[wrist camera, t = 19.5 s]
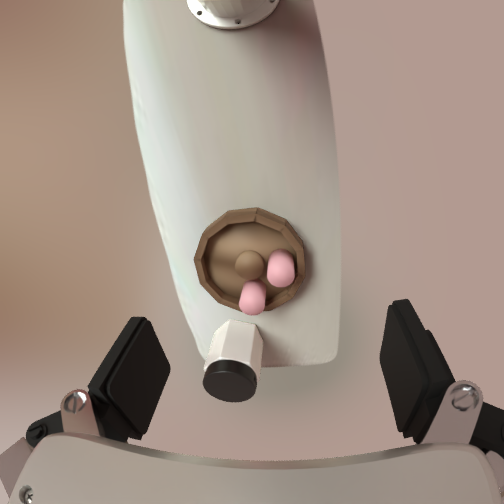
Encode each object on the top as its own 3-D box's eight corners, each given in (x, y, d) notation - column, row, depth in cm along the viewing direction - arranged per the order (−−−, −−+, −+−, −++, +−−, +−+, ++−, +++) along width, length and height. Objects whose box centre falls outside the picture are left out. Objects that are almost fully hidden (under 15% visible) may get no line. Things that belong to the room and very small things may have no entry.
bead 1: (241, 278, 44) (236, 295, 40) (264, 277, 43) (262, 293, 39) (245, 298, 45) (241, 316, 41) (267, 296, 45) (266, 314, 41)
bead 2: (267, 249, 41) (265, 264, 37) (292, 247, 40) (293, 262, 36) (270, 271, 43) (268, 288, 39) (294, 269, 42) (295, 286, 38)
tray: (190, 215, 41) (184, 222, 39) (298, 203, 39) (300, 209, 36) (212, 303, 48) (208, 313, 45) (306, 297, 45) (307, 308, 43)
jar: (241, 359, 53) (232, 409, 42) (207, 337, 51) (191, 386, 41) (272, 336, 50) (269, 388, 39) (237, 310, 48) (225, 362, 37)
